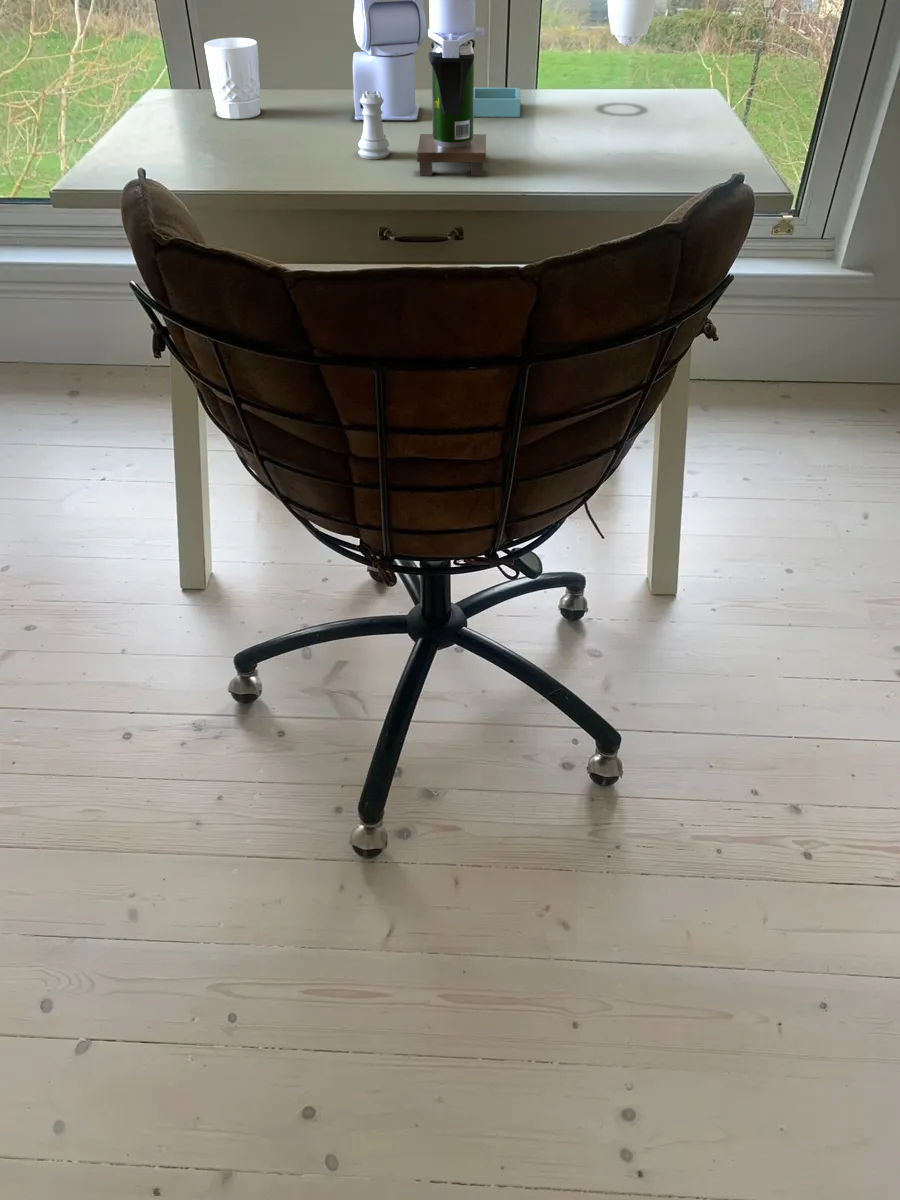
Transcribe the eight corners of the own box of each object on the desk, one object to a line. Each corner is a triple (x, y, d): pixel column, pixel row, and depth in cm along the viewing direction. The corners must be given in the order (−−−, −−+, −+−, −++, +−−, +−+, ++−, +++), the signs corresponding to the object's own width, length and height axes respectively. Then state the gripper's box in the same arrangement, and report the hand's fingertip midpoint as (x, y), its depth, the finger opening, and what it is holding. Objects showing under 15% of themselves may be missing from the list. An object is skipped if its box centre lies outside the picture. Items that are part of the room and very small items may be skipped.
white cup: (274, 111, 166) (267, 40, 159) (244, 122, 160) (236, 50, 154) (233, 105, 168) (225, 35, 162) (203, 116, 163) (193, 45, 157)
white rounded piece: (654, 110, 165) (671, -43, 152) (619, 117, 162) (633, -39, 149) (624, 101, 170) (637, -49, 157) (589, 107, 167) (600, -45, 154)
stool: (417, 176, 139) (416, 152, 137) (420, 156, 146) (420, 133, 144) (485, 176, 139) (485, 152, 137) (485, 157, 146) (486, 134, 144)
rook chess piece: (394, 158, 145) (392, 95, 140) (363, 161, 144) (359, 98, 139) (384, 149, 149) (382, 88, 144) (354, 152, 147) (350, 90, 143)
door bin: (470, 116, 163) (471, 99, 161) (471, 104, 169) (471, 87, 167) (519, 116, 163) (520, 99, 161) (518, 104, 169) (519, 87, 167)
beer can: (481, 143, 140) (483, 43, 133) (450, 151, 137) (450, 49, 130) (455, 135, 143) (455, 36, 136) (424, 142, 141) (423, 42, 133)
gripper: (484, -2, 123) (482, 122, 132) (484, -21, 135) (483, 94, 143) (424, -2, 124) (426, 122, 132) (429, -21, 135) (431, 94, 143)
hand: (452, 107), depth 138 cm, fingers closed on beer can, 5 cm apart
